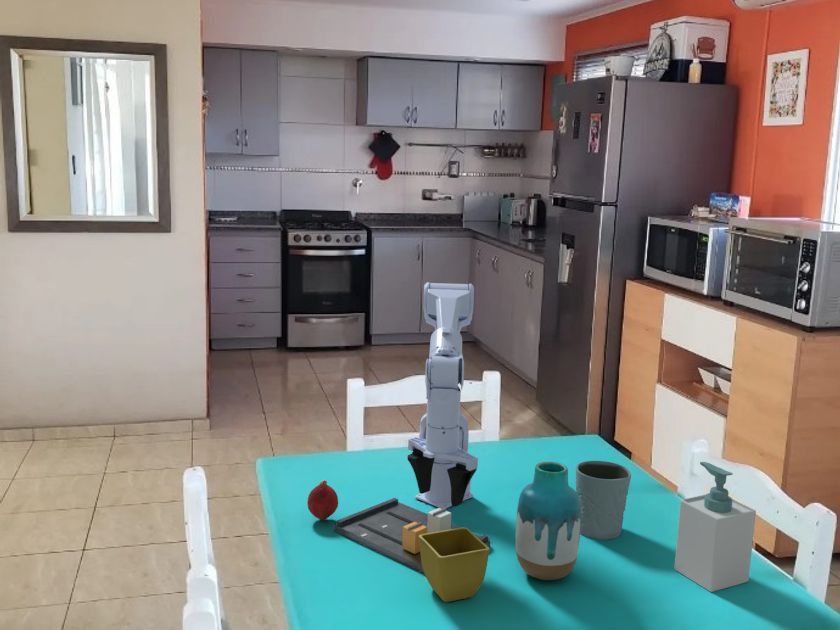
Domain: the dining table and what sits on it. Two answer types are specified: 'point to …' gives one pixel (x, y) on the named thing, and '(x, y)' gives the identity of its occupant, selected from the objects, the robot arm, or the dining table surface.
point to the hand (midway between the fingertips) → (440, 498)
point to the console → (387, 530)
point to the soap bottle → (715, 537)
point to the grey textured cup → (602, 498)
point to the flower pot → (453, 562)
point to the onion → (322, 501)
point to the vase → (548, 524)
